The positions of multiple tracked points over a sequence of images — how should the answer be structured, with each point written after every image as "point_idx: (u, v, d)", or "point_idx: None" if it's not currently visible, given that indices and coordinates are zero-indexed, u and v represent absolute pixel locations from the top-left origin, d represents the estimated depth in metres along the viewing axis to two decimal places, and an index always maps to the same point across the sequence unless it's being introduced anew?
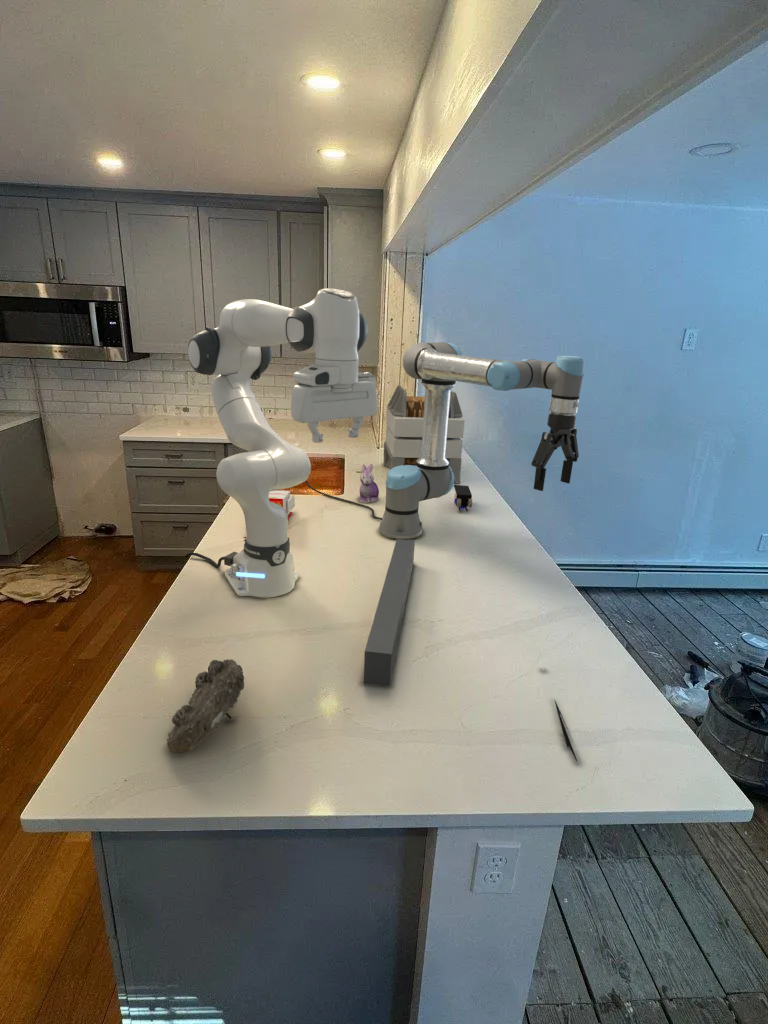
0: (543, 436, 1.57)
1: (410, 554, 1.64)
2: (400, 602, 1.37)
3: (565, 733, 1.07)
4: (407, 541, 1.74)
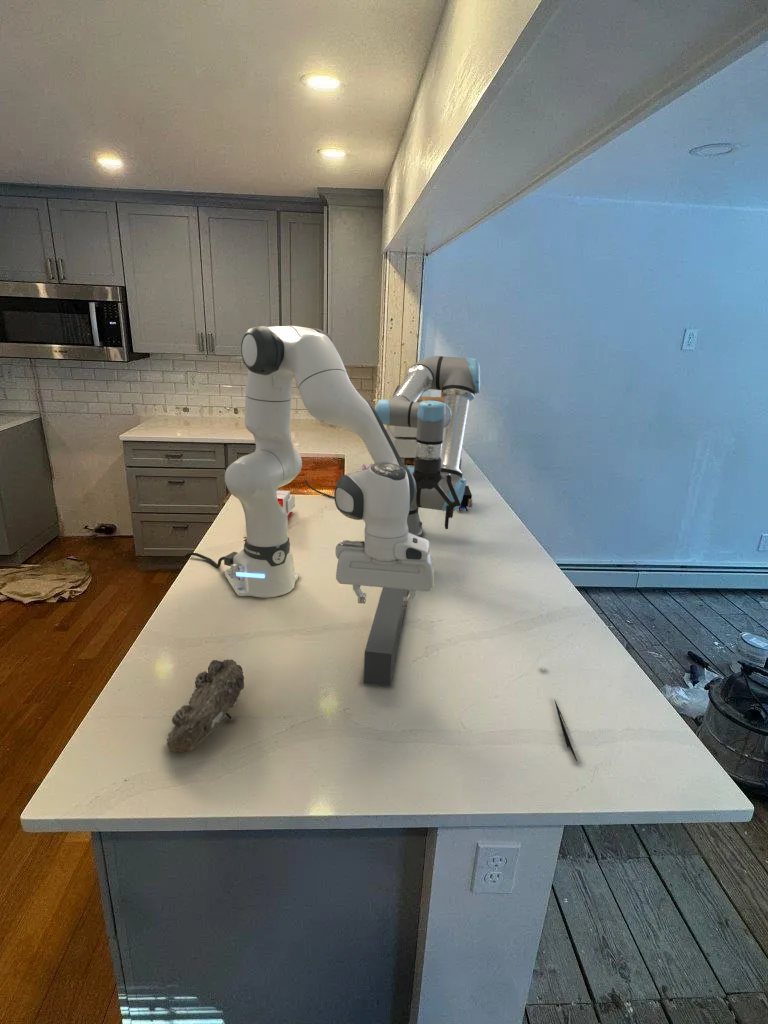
0: None
1: None
2: (400, 602, 1.37)
3: (565, 733, 1.07)
4: None
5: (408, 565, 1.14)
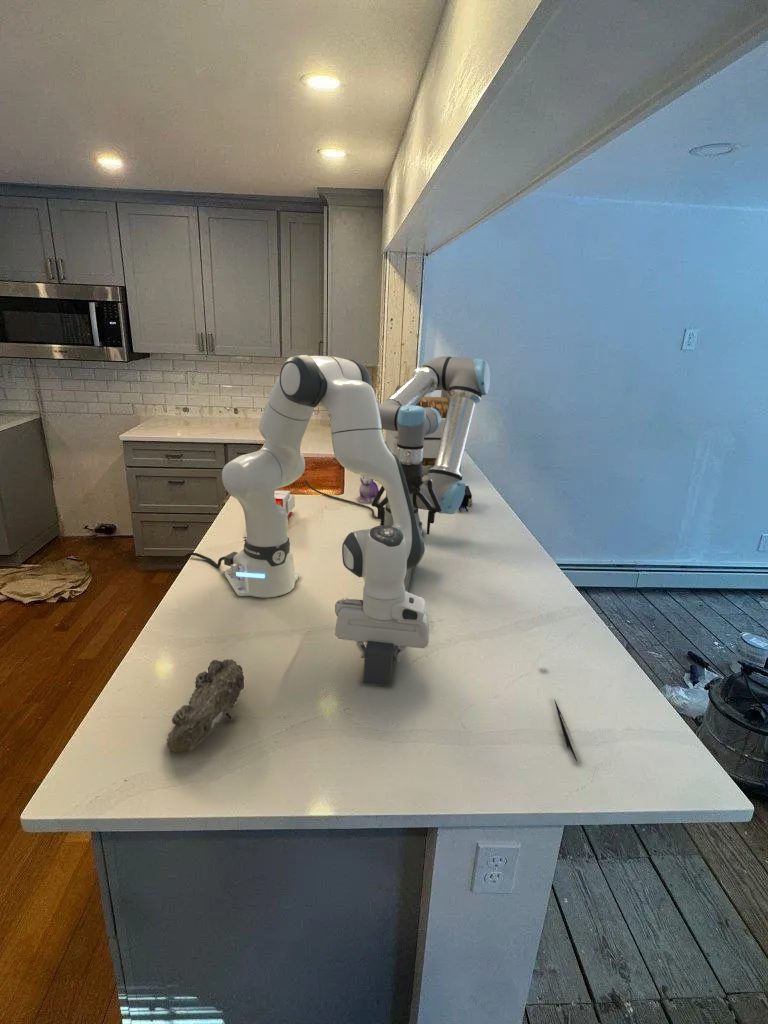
0: None
1: None
2: None
3: (565, 733, 1.07)
4: None
5: (404, 624, 1.18)
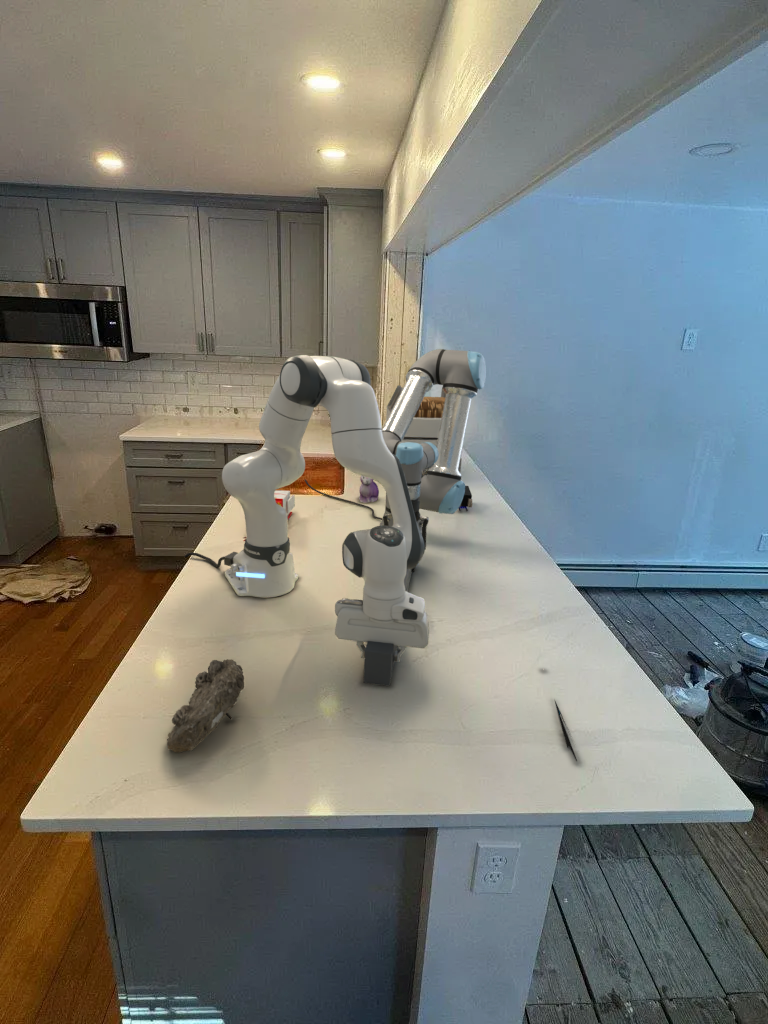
0: None
1: None
2: None
3: (565, 733, 1.07)
4: None
5: (404, 624, 1.18)
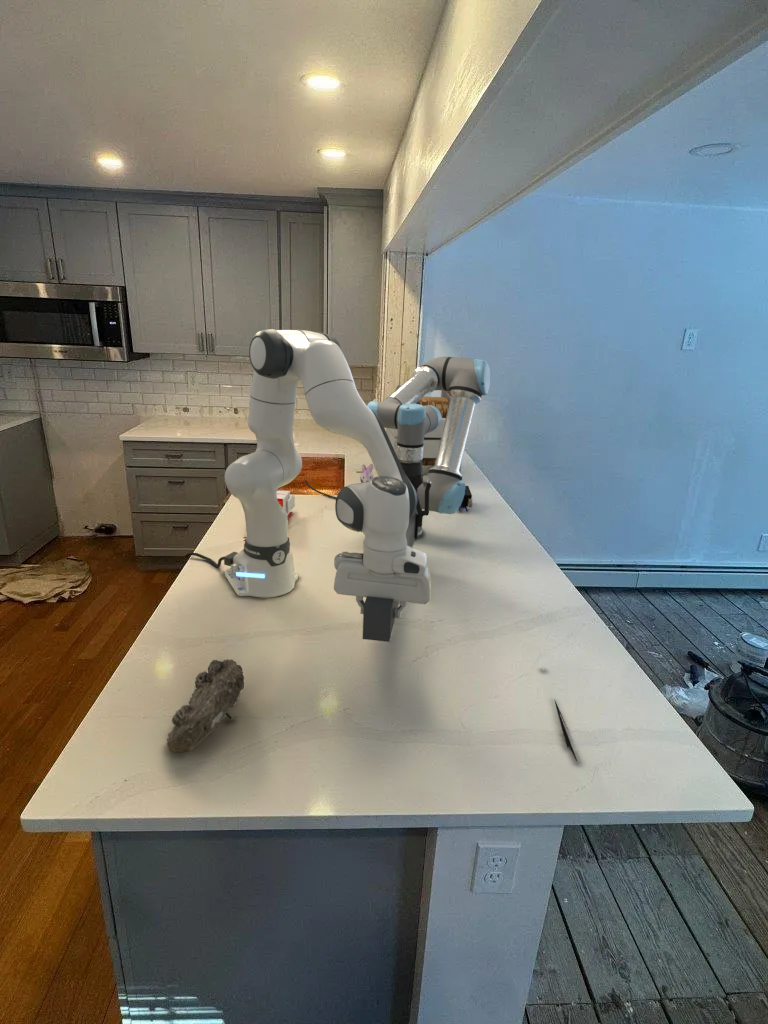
0: None
1: (412, 519, 1.61)
2: None
3: (565, 733, 1.07)
4: None
5: (406, 578, 1.15)
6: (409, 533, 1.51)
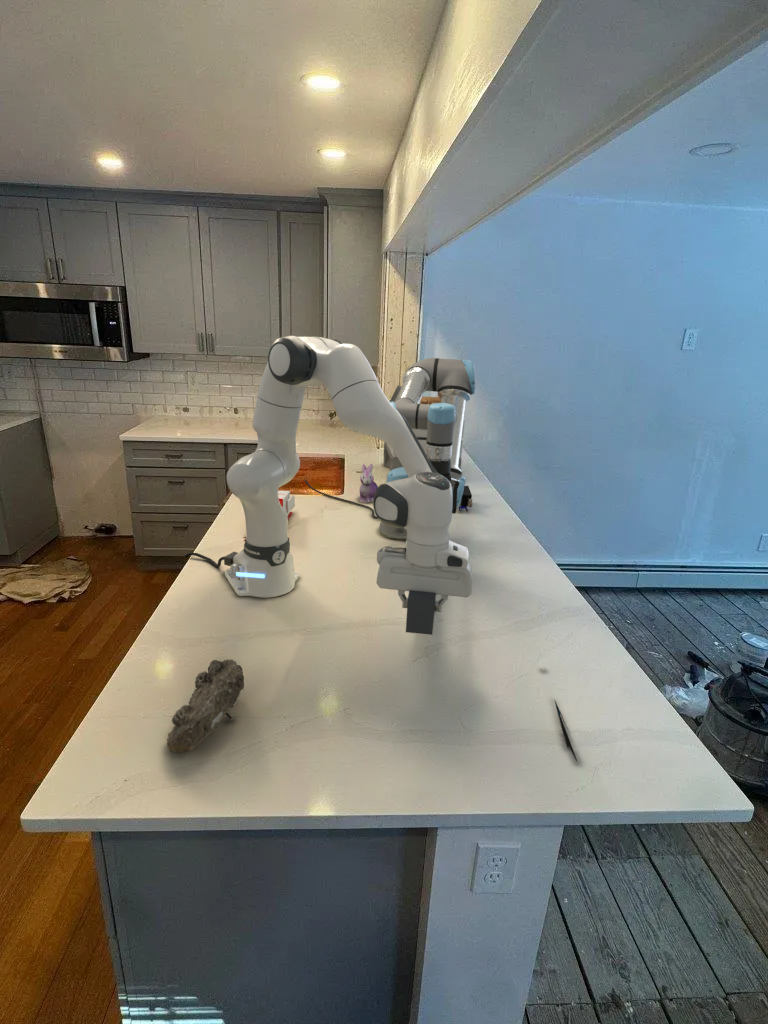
0: None
1: None
2: None
3: (565, 733, 1.07)
4: None
5: (448, 572, 1.17)
6: None
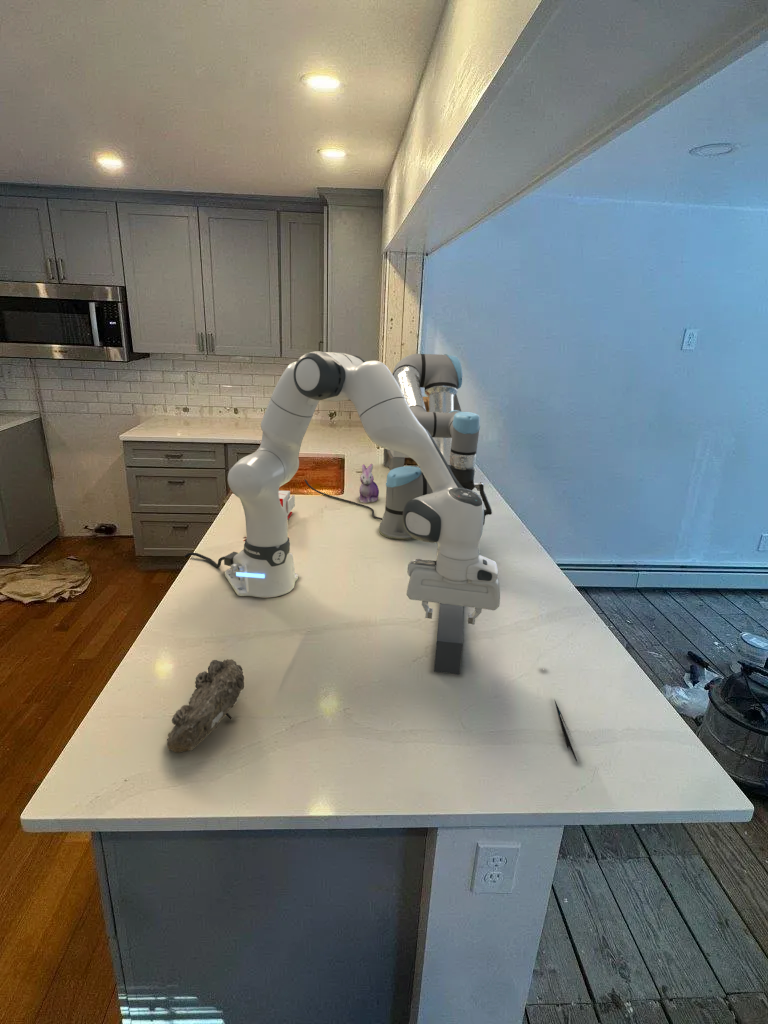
0: None
1: None
2: None
3: (565, 733, 1.07)
4: None
5: (477, 585, 1.20)
6: None
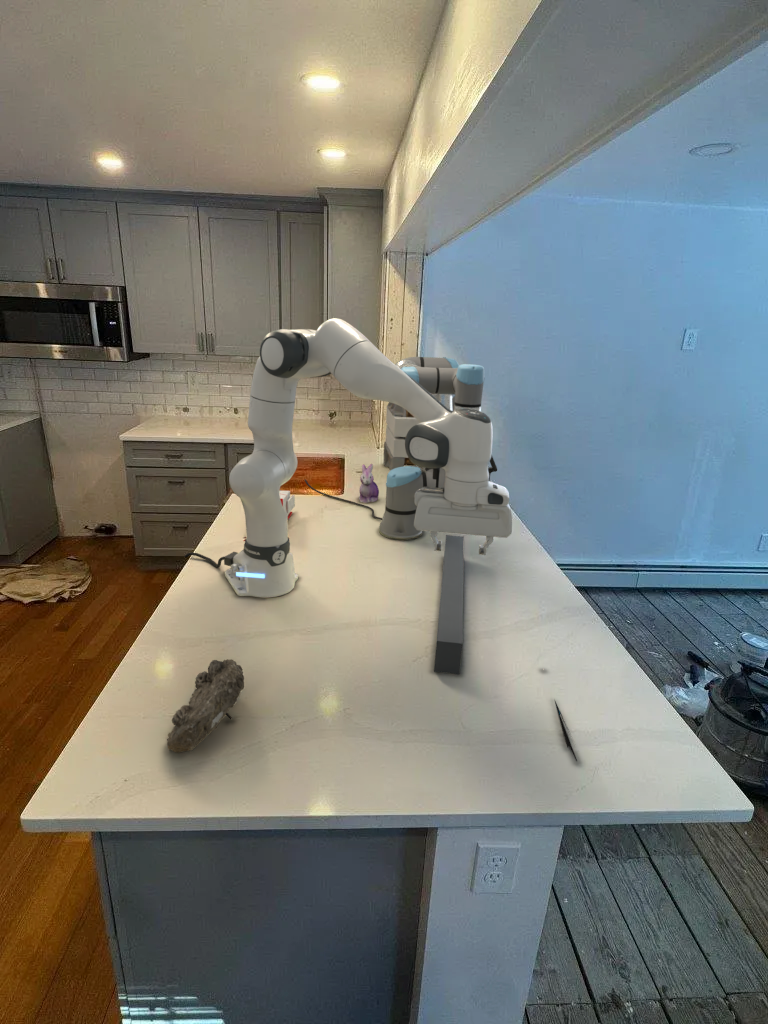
0: None
1: (462, 549, 1.69)
2: (461, 595, 1.42)
3: (565, 733, 1.07)
4: (456, 536, 1.78)
5: (488, 511, 1.15)
6: (462, 564, 1.59)
